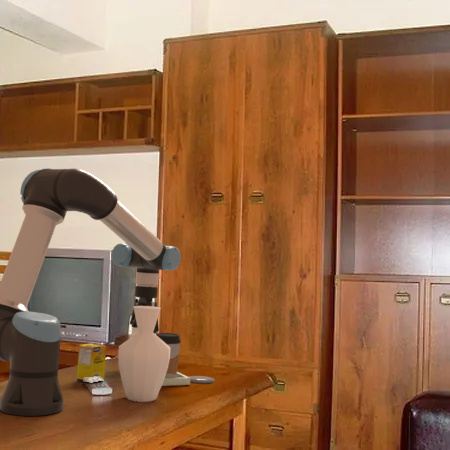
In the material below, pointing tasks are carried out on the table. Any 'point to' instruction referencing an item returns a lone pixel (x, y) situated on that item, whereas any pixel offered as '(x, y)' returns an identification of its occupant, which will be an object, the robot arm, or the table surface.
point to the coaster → (201, 379)
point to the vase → (143, 358)
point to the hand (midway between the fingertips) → (142, 349)
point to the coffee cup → (171, 352)
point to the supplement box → (91, 361)
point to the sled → (178, 380)
